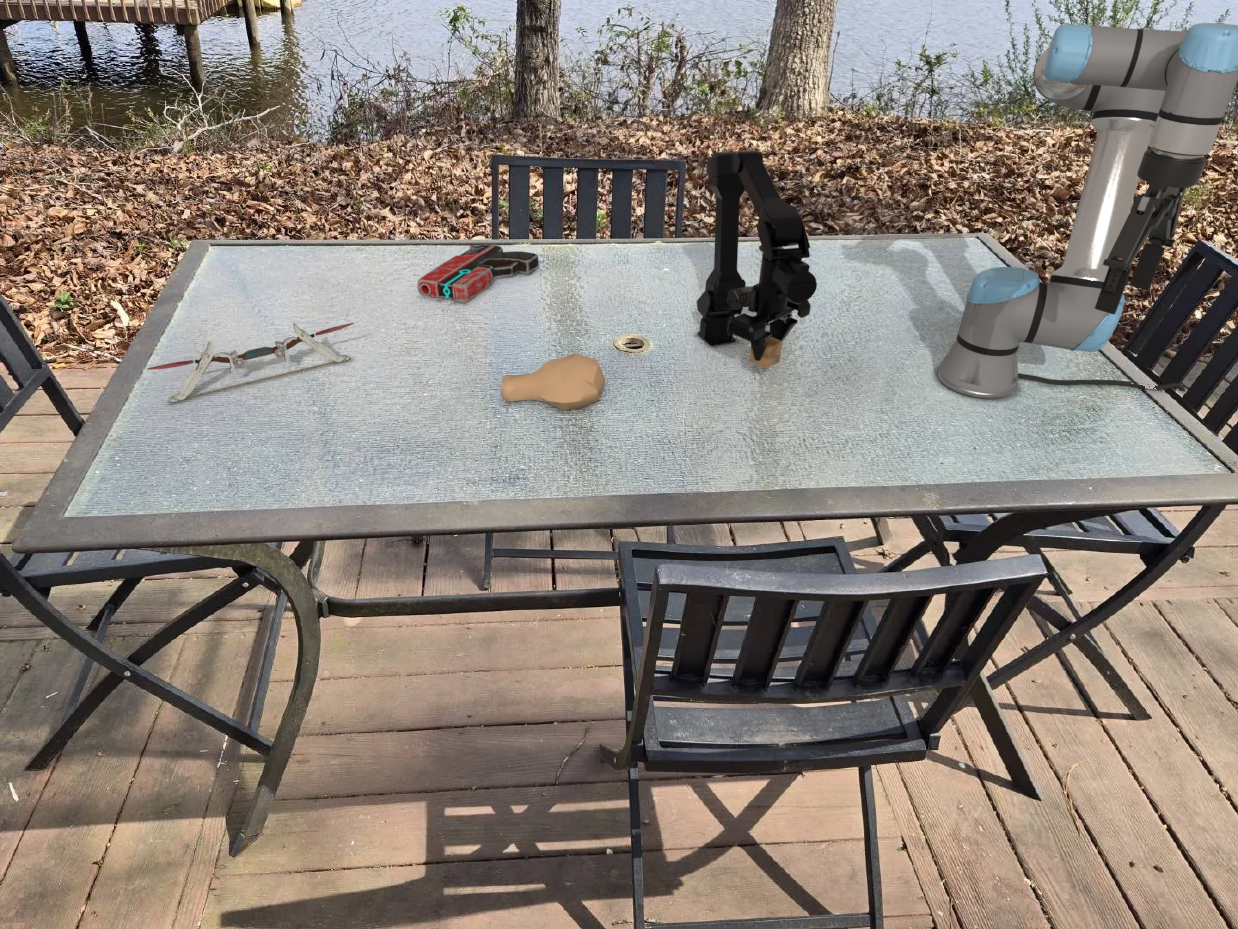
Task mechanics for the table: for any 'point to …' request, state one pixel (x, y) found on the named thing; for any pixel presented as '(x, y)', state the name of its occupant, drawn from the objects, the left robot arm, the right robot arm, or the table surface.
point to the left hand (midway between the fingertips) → (764, 356)
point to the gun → (474, 272)
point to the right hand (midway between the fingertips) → (1122, 298)
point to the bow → (250, 354)
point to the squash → (558, 383)
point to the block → (769, 354)
